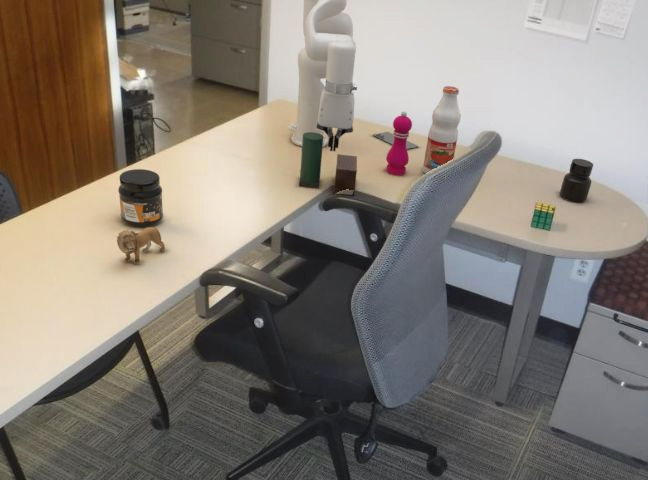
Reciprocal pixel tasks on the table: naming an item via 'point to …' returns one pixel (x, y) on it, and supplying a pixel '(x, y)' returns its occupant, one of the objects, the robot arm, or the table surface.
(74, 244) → the table surface
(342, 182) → the walnut block
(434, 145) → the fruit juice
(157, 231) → the lion figurine
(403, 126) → the pepper mill
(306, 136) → the green tube
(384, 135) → the smartphone
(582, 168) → the ink bottle
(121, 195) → the supplement container
